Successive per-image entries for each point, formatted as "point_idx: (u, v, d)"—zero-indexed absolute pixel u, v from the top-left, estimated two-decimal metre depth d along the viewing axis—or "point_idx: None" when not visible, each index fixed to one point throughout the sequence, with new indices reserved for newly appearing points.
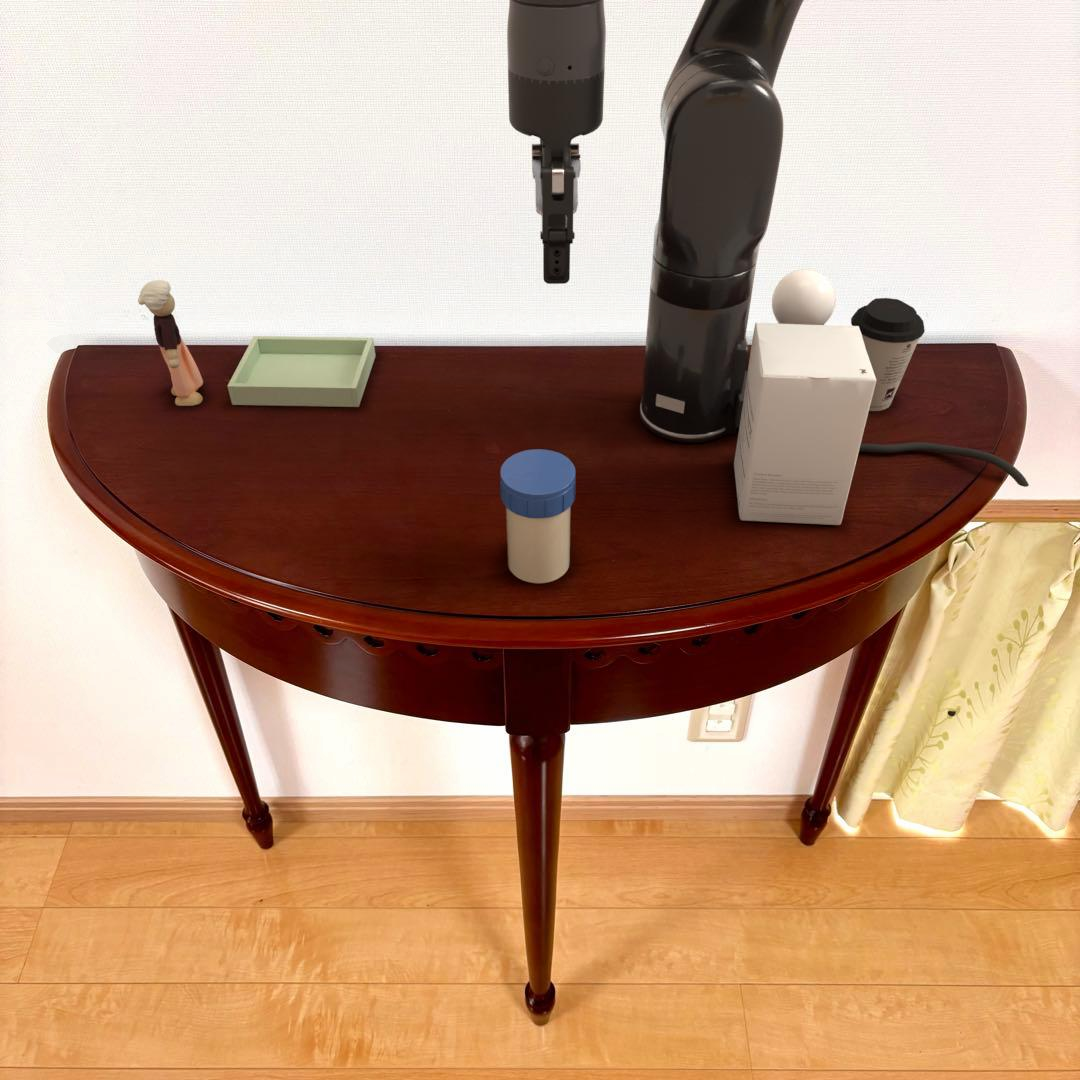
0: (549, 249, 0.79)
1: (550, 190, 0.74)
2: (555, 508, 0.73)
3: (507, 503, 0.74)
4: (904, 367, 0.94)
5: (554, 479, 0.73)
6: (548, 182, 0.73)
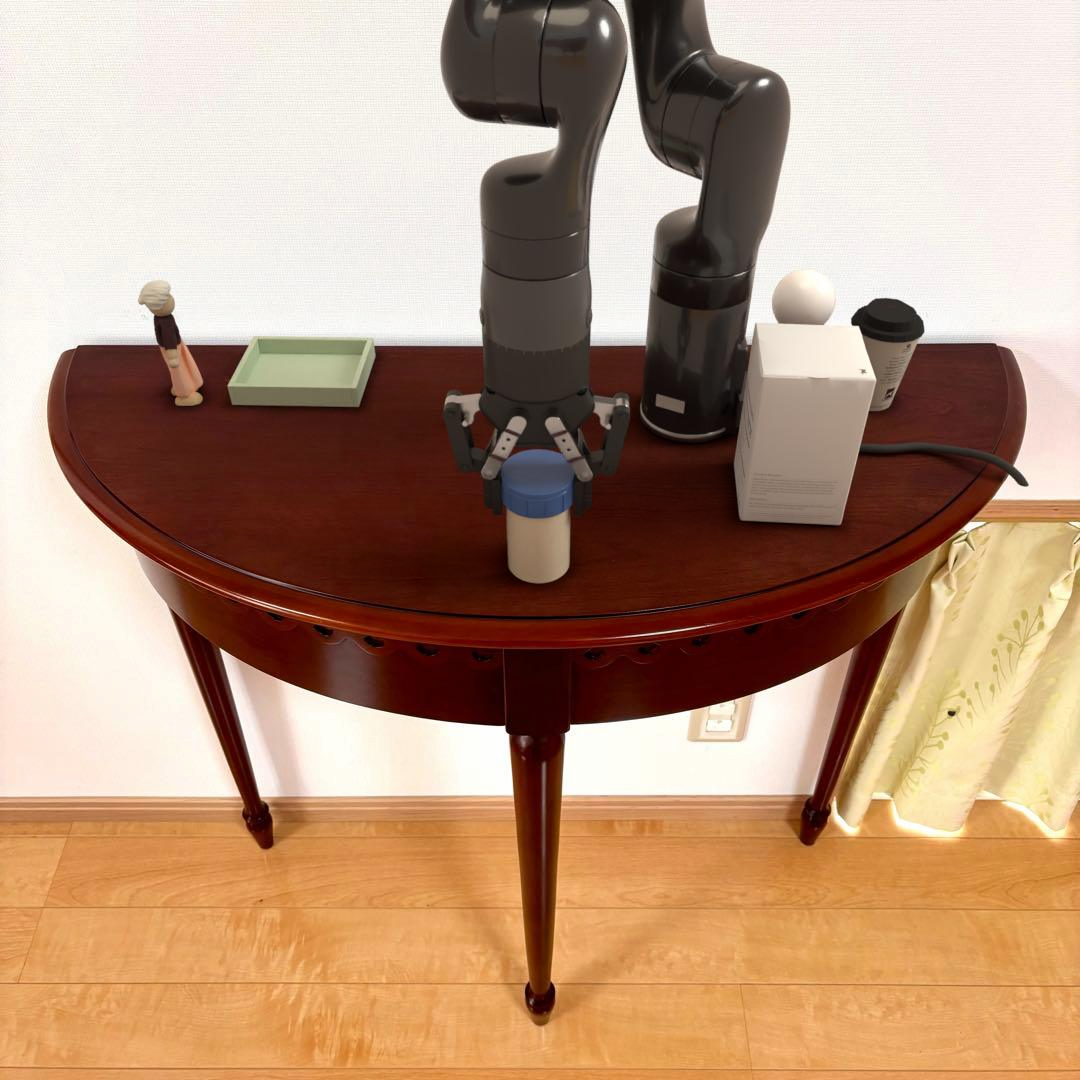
0: (592, 481, 0.74)
1: None
2: (555, 508, 0.73)
3: (507, 503, 0.74)
4: (904, 367, 0.94)
5: (554, 479, 0.73)
6: None
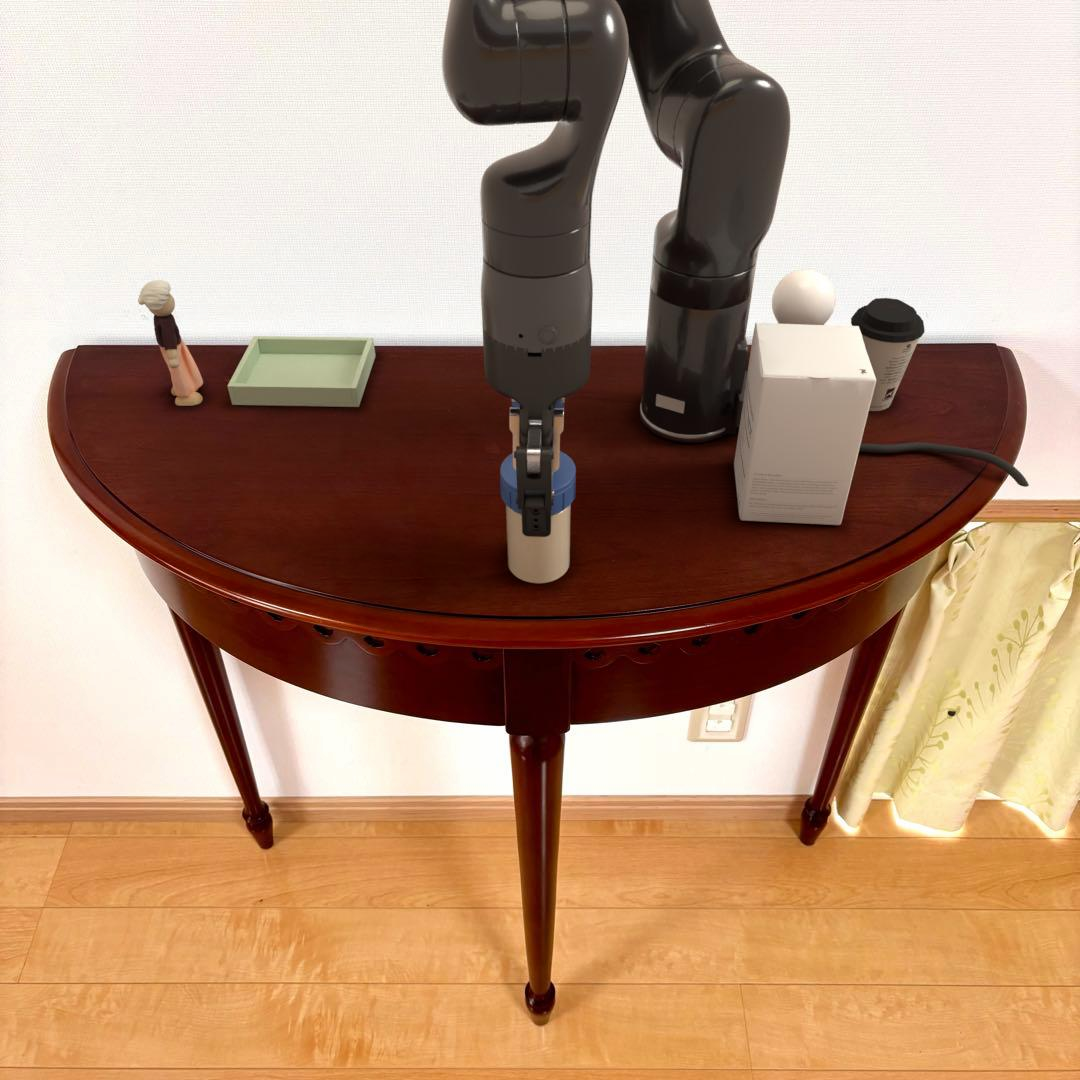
0: None
1: None
2: None
3: (560, 505, 0.73)
4: (904, 367, 0.94)
5: None
6: None
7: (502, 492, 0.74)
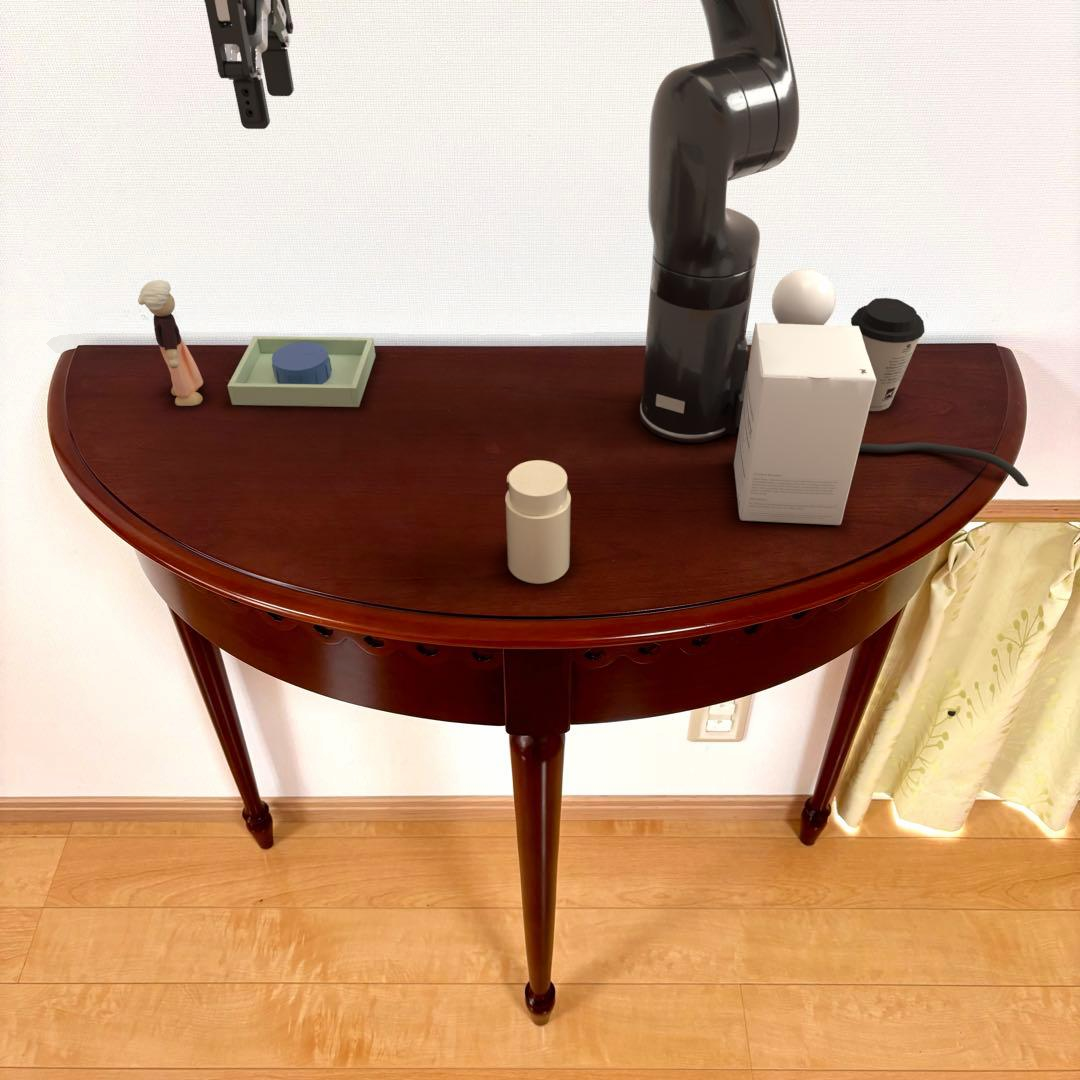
0: None
1: None
2: None
3: None
4: (904, 367, 0.94)
5: (289, 350, 1.01)
6: None
7: (305, 382, 1.00)
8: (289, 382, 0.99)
